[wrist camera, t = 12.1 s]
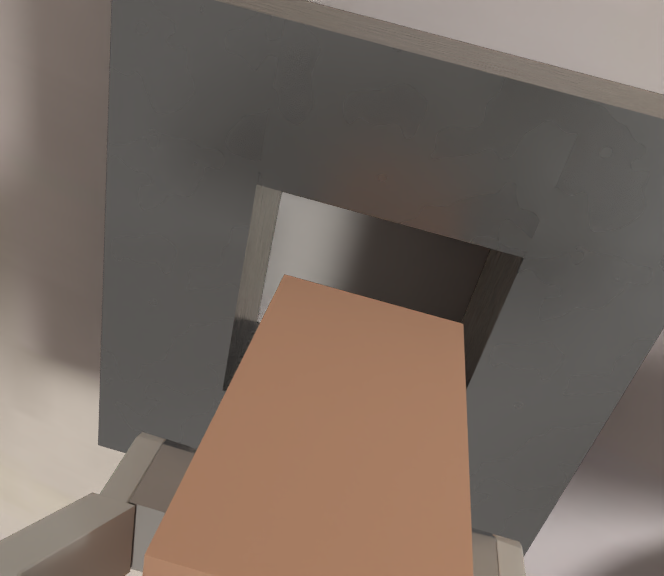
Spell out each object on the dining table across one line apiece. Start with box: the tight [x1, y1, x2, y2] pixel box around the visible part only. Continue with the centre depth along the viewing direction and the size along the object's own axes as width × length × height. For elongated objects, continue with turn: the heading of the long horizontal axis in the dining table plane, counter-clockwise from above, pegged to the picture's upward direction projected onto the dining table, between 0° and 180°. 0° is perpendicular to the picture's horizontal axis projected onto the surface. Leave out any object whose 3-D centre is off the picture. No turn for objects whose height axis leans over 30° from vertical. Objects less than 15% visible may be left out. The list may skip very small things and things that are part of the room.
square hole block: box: [98, 0, 664, 557], centre depth 19 cm, size 15×15×4 cm
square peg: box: [143, 274, 473, 576], centre depth 13 cm, size 4×4×8 cm
